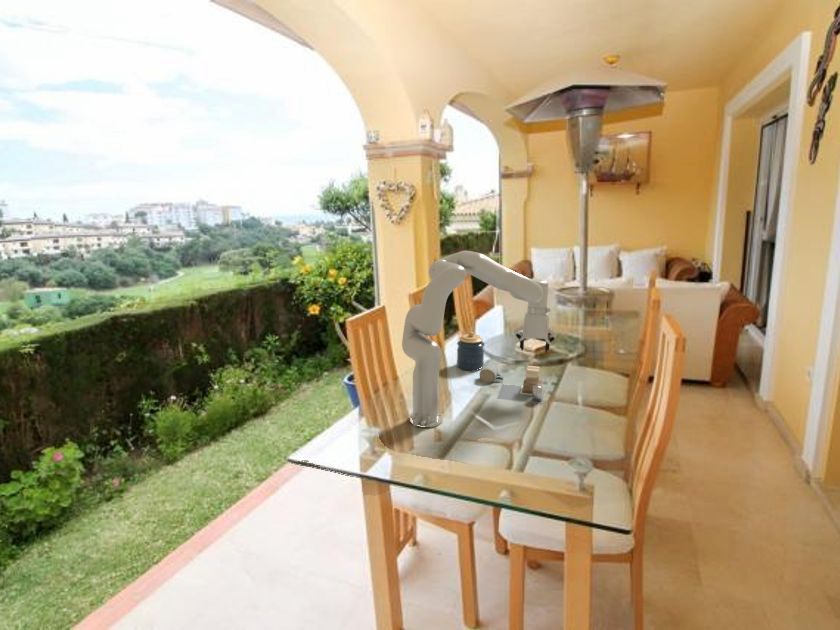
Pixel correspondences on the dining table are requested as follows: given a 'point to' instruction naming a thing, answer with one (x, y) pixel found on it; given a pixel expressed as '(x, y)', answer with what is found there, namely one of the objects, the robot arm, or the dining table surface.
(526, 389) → the walnut block
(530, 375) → the beech block
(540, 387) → the grey block
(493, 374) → the ceramic mug
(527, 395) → the slate board
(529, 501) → the dining table surface
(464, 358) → the canister
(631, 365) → the dining table surface
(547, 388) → the dining table surface
